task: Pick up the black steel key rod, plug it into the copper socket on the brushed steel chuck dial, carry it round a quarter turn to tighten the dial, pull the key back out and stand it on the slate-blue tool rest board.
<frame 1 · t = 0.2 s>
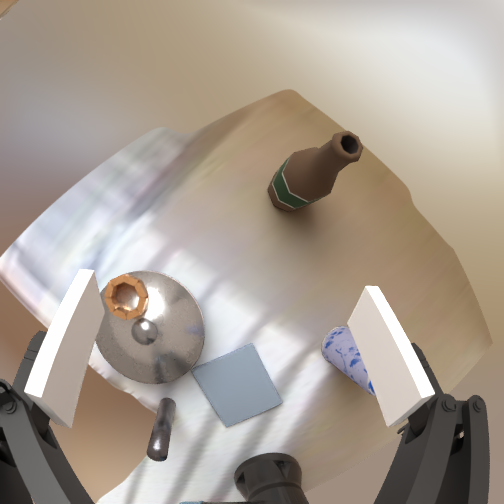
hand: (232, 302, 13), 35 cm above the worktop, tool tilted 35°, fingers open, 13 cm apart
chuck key: (167, 404, 46), on the worktop
aerosol can: (339, 344, 52), on the worktop
beer bottle: (287, 191, 50), on the worktop
tool rest: (238, 386, 48), on the worktop
chuck dial: (145, 330, 39), point 7 cm above the worktop, hinge at 0.0°
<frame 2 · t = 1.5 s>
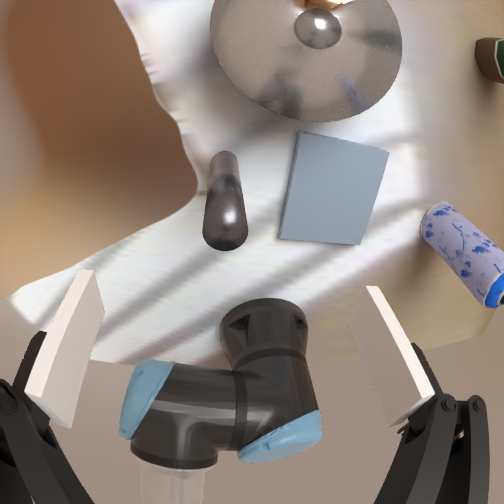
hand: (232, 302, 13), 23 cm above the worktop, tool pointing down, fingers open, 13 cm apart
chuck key: (224, 163, 32), on the worktop
aerosol can: (437, 221, 39), on the worktop
beer bottle: (486, 58, 22), on the worktop
tool rest: (332, 191, 35), on the worktop
chuck dial: (316, 29, 18), point 7 cm above the worktop, hinge at 0.0°
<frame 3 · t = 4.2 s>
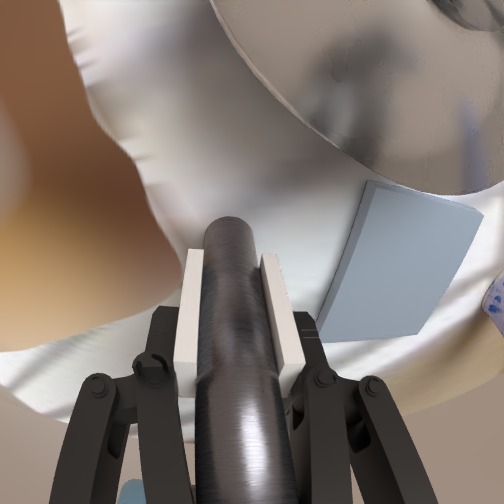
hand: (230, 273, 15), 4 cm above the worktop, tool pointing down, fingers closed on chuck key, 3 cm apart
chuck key: (228, 238, 18), on the worktop, touching gripper
aerosol can: (500, 287, 25), on the worktop
tool rest: (399, 272, 21), on the worktop
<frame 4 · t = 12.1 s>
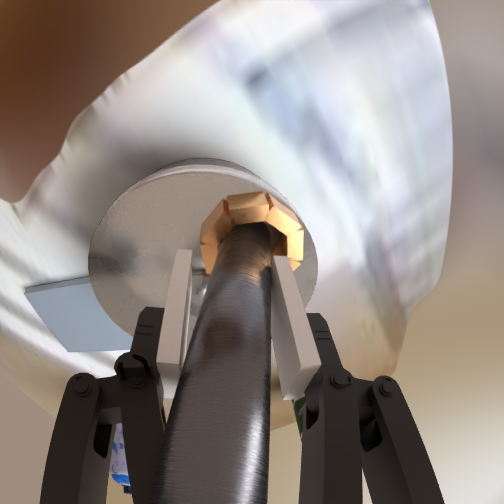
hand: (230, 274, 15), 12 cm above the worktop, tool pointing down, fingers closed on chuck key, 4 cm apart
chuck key: (247, 237, 18), point 8 cm above the worktop, tilted 12°, touching chuck dial, gripper
aerosol can: (136, 392, 43), on the worktop
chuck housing: (202, 239, 27), on the worktop
tool rest: (85, 316, 31), on the worktop
chuck dial: (201, 289, 21), point 7 cm above the worktop, hinge at 43.2°, touching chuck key
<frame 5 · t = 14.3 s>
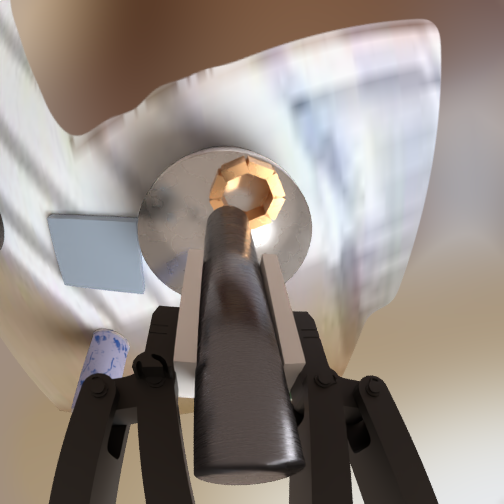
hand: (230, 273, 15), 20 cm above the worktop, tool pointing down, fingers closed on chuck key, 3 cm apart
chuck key: (227, 225, 20), point 14 cm above the worktop, tilted 5°, touching gripper
aerosol can: (111, 341, 47), on the worktop
tool rest: (97, 252, 36), on the worktop
chuck dial: (224, 240, 28), point 7 cm above the worktop, hinge at 75.4°
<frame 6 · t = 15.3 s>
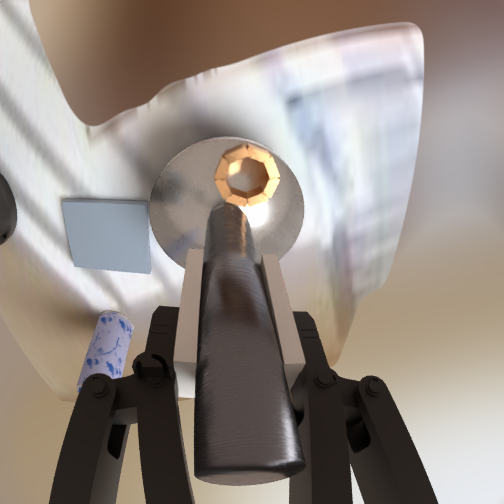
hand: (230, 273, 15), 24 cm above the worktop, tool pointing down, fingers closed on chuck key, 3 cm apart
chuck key: (228, 226, 20), point 19 cm above the worktop, tilted 5°, touching gripper
aerosol can: (116, 323, 51), on the worktop
tool rest: (107, 235, 40), on the worktop
chuck dial: (226, 217, 32), point 7 cm above the worktop, hinge at 75.4°
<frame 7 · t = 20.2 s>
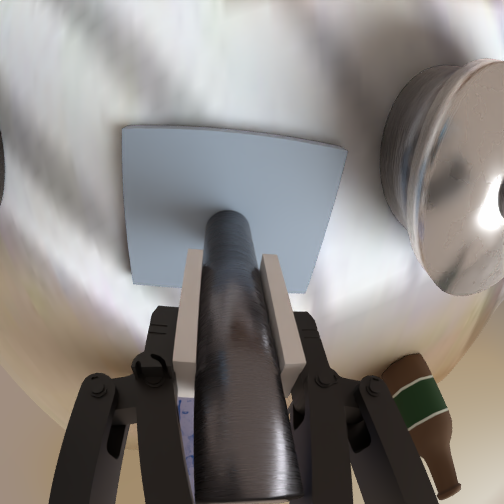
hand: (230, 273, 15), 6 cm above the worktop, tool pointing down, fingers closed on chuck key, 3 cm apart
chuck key: (227, 230, 19), point 1 cm above the worktop, touching gripper, tool rest
aerosol can: (196, 372, 31), on the worktop
beer bottle: (401, 366, 37), on the worktop
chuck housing: (454, 156, 18), on the worktop
tool rest: (226, 214, 20), on the worktop
when the fingers open (6 cm above the worktop, at t = 20.5 s): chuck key stays where it is, resting on tool rest.
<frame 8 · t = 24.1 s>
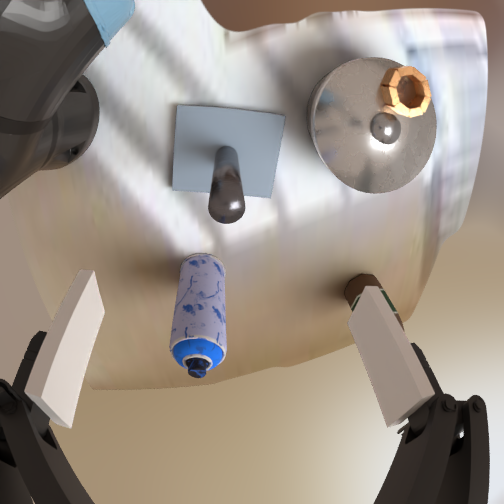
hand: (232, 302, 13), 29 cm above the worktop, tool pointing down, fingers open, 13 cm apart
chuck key: (226, 156, 36), point 1 cm above the worktop, touching tool rest
aerosol can: (202, 271, 48), on the worktop
beer bottle: (360, 286, 54), on the worktop
tool rest: (226, 150, 37), on the worktop
chuck dial: (383, 127, 29), point 7 cm above the worktop, hinge at 75.4°
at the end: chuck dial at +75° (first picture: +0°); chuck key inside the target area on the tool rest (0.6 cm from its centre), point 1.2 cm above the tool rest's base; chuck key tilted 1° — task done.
